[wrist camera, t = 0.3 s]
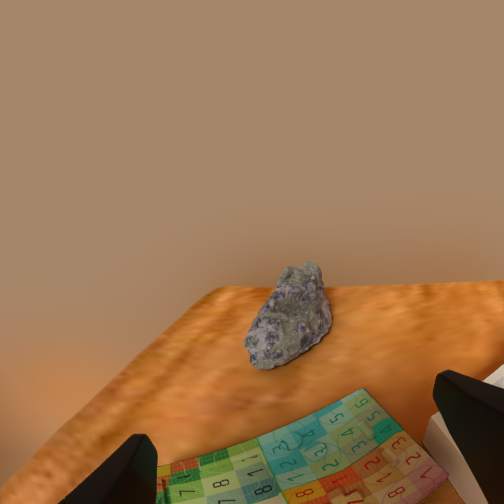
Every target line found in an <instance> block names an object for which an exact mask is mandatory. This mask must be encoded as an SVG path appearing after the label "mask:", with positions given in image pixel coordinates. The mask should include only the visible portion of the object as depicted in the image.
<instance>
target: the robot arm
mask: <svg viewBox="0 0 504 504" xmlns="http://www.w3.org/2000/svg"><path fill="white" fill-rule="evenodd" d="M433 399H434V401H435V403H436V405H437V407H438V409H439V412H440V414H441V416H442V418H443V420H444V423H445V425H446V427H447V429H448V431H449V433H450V435H451V437H452V439H453V440H454V442H455V444H456V445H457V447H458V449H459V451H460V452H461V454H462V456H463V458H464V459H465V461H466V463H467V465H468V466H469V468H470V470H471V472H472V474H473V476H474V477H475V479H476V481H477V483H478V485H479V487H480V489H481V491H482V492H483V494H484V496H485V498H486V500H487V502H488V504H504V388H501V387H498V386H495V385H492V384H489V383H486V382H483V381H480V380H477V379H474V378H471V377H468V376H466V375H463V374H460V373H457V372H454V371H452V370H445V371H443V372H441V373H439V374H438V375H437V376H436V380H435V384H434V389H433ZM157 460H158V455H157V451H156V448H155V447H154V445H153V444H152V442H151V441H150V439H149V437H148V436H147V435H146V434H133V435H131V436H130V437H129V438H128V439H127V440H126V441H125V442H124V443H123V444H122V445H121V446H120V447H119V448H118V449H117V450H116V451H115V452H114V453H113V454H112V455H111V456H110V457H108V458H107V459H106V460H105V461H104V462H103V463H102V464H101V465H100V466H99V467H98V468H97V469H96V470H95V471H94V472H92V473H91V474H90V475H89V476H88V477H87V478H86V479H85V480H84V481H83V482H82V483H81V484H79V485H78V486H77V487H76V488H75V489H74V490H73V491H72V492H71V493H69V494H68V495H67V496H66V497H65V499H63V500H61V501H60V502H59V503H58V504H156V497H157Z"/></svg>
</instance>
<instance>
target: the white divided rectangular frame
mask: <svg viewBox="0 0 504 504" xmlns="http://www.w3.org/2000/svg"><path fill="white" fill-rule="evenodd" d="M483 382H486V383H489V384H492V385H495V386H498V387H501V388H504V364H503V365H502V366H501V367H500V368H498V369H497V370H496V371H495V372H493V373H492V374H491V375H490V376H488V377H487V378H486V379H485V380H483ZM422 443H423V444H424V445H425V447H426V448H427V450H428V451H429V452H430V454H431V455H432V457H433V458H434V460H435V461H436V462H437V463H438V464H439V465H440V466H441V467H442V468H443V469H444V470H445V471H446V472H447V473H448V474H449V477H448V480H449V481H450V482H451V484H452V485H453V487H454V488H455V490H456V491H457V493H458V494H459V496H460V497H461V499H462V500H463V501H464V503H465V504H488V502H487V500H486V498H485V496H484V494H483V492H482V491H481V489H480V487H479V485H478V483H477V481H476V479H475V477H474V476H473V474H472V472H471V470H470V468H469V466H468V465H467V463H466V461H465V459H464V458H463V456H462V454H461V452H460V451H459V449H458V447H457V445H456V444H455V442H454V440H453V439H452V437H451V435H450V433H449V431H448V429H447V427H446V425H445V423H444V420H443V418H442V416H441V414H440V412H437V413H436V414H434V415H432V416H431V417H430V420H429V423H428V426H427V429H426V432H425V435H424V438H423V440H422Z"/></svg>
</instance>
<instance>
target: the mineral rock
mask: <svg viewBox="0 0 504 504" xmlns="http://www.w3.org/2000/svg"><path fill="white" fill-rule="evenodd" d="M321 277H322V273H321V269H320V268H319V266H318V265H317V264H316V263H313V262H310V261H308V262H305V263H304V264H303V265H301V266H300V267H298V268H294V267H291V266H288V267H287V268H285V269H284V271H283V273H282V274H281V276H280V278H278V280H277V286H276V288H275V290H274V292H273V294H272V295H271V296H270V297H269V299H268V300H267V301H266V302H265V303H264V305H263V306H262V307H261V309H260V310H259V312H258V315H257V317H256V318H255V319H254V320H253V322H252V325H251V329H250V330H249V331H248V334H247V335H246V338H245V340H244V342H243V343H244V347H245V348H246V349H248V352H249V354H250V363H251V364H252V365H253V366H254V367H255V368H256V369H258V370H267V369H271V368H274V367H275V366H282V365H284V364H285V363H287V362H289V361H291V360H292V359H294V358H295V357H298V356H299V355H300V354H301V353H303V352H305V351H306V350H308V349H309V347H311V346H312V345H313V344H316V343H318V342H319V341H320V338H321V337H322V336H323V335H325V334H326V333H327V332H328V331H329V327H330V326H331V324H332V319H333V318H332V315H331V310H330V303H329V301H328V300H327V298H326V297H325V293H324V290H323V289H324V287H323V282H322V278H321Z"/></svg>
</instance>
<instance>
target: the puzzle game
mask: <svg viewBox="0 0 504 504" xmlns="http://www.w3.org/2000/svg"><path fill="white" fill-rule="evenodd" d="M448 477H449V474H448V473H447V472H446V471H445V470H444V469H443V468H442V467H441V466H440V465H439V464H438V463H437V462H436V461H435V460H434V459H433V458H432V457H431V456H430V455H429V454H428V453H427V452H426V451H425V450H424V449H423V448H422V447H421V446H420V445H419V444H418V443H417V442H416V441H415V440H414V439H413V438H412V437H411V436H410V435H409V434H408V433H407V432H406V431H405V430H404V429H403V428H402V427H401V426H400V425H399V424H398V423H397V422H396V421H395V420H394V419H393V418H392V417H391V416H390V415H389V414H388V413H387V411H386V410H385V409H384V408H383V407H382V406H381V405H380V404H379V403H378V402H377V401H376V400H375V399H374V398H373V397H372V396H371V395H370V394H369V393H368V392H367V391H366V390H365V389H364V388H363V389H360V390H357V391H355V392H354V393H352V394H350V395H348V396H346V397H344V398H343V399H341V400H339V401H337V402H335V403H333V404H331V405H329V406H327V407H325V408H323V409H321V410H319V411H317V412H315V413H313V414H311V415H309V416H306V417H304V418H302V419H300V420H298V421H296V422H293V423H291V424H289V425H286V426H284V427H282V428H279V429H277V430H274V431H272V432H269V433H267V434H264V435H262V436H259V437H257V438H254V439H251V440H249V441H246V442H243V443H240V444H237V445H234V446H231V447H228V448H225V449H222V450H219V451H216V452H213V453H209V454H206V455H202V456H199V457H195V458H192V459H188V460H184V461H180V462H176V463H172V464H167V465H163V466H158V467H157V497H156V504H417V503H418V502H420V501H421V500H422V499H424V498H425V497H426V496H428V495H429V494H430V493H431V492H433V491H434V490H435V489H437V488H438V487H439V486H440V485H441V484H443V483H444V482H445V481H446V480H447V478H448Z"/></svg>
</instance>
